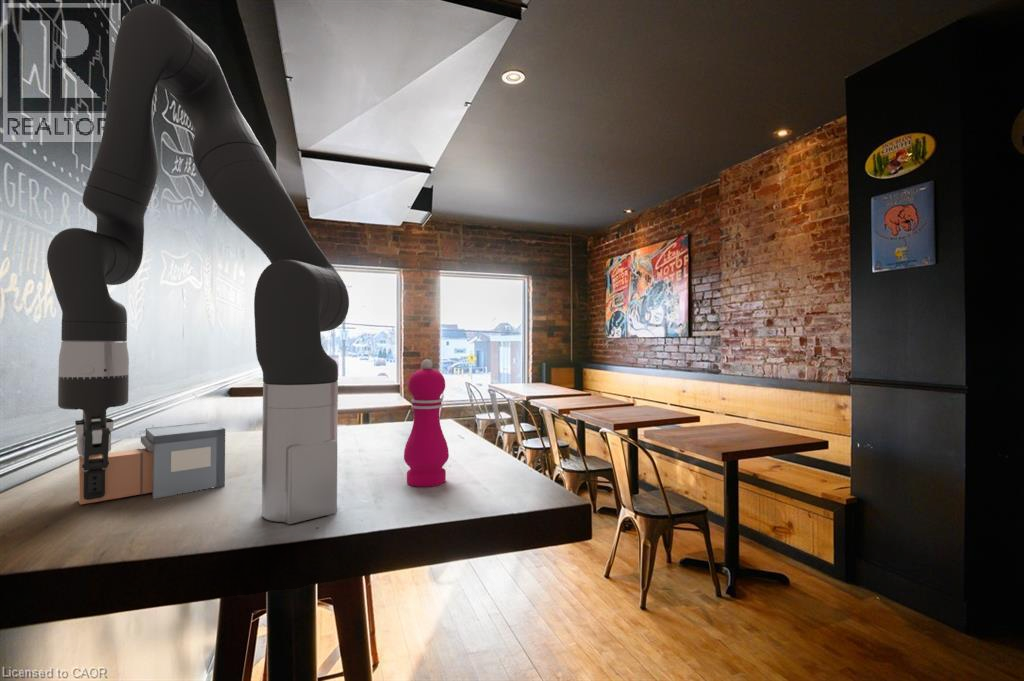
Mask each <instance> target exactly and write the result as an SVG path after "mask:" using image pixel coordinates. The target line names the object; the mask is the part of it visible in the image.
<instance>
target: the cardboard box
mask: <svg viewBox="0 0 1024 681" xmlns="http://www.w3.org/2000/svg"><path fill="white" fill-rule="evenodd" d="M100 459H102V455H101V454H97V455H91V456H89V461H92V460H100ZM108 461H109V465H108V467H107V468H106V470H105V495H104V496H103V497H101V498H96V499H90V500H86V499H84V473H83V470H82V464H83V457H82V456H80V455H79V457H78V503H79V504H78V505H84V504H85V505H87V504H90V503H97V502H103V501H110V500H115V499H121V498H126V497H132V496H137V495H141V496H142V495H143V494H144V495H145V494H149V493H151V494H152V493H153V451H151V452H149V451H148V450H147V449H146V447H144V448H137V449H129V450H121V451H120V450H119V451H112V452H111V451H110V452H108Z"/></svg>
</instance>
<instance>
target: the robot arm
mask: <svg viewBox="0 0 1024 681" xmlns="http://www.w3.org/2000/svg"><path fill="white" fill-rule="evenodd" d="M113 52H114V53H113V59H112V66H111V74H110V80H109V87H108V96H107V103H106V104H107V105H106V112H105V119H104V120H105V121H104V126H103V132H102V134H101V135H102V136H101V140H100V144H99V146H98V151H97V154H96V157H95V160H94V162H93V165H92V168H91V171H90V173H89V176H88V179H87V182H86V186H85V188H84V191H83V194H82V204H83V206H84V207H85V208H86V209H88V210H89V211H90V212H92V213H93V214H94V215H95V218H96V231H94V230H90V229H86V228H81V227H70V228H65V229H63V230H61V231H59V232H58V233H57V234H55V235H54V237H53V238H52V240H51V242H50V243H49V244H48V248H47V255H46V264H47V269H48V272H49V275H50V279H51V282H52V285H53V286H52V287H53V289H54V293H55V296H56V298H57V301H58V304H59V307H60V310H61V332H60V333H61V335H60V336H61V338H60V339H61V345H60V350H59V354H58V374H57V377H58V379H57V380H58V383H57V384H58V385H57V388H58V389H57V405H58V407H59V409H63V410H72V411H73V410H82V419H79V420H78V419H76V420H75V421H74V431H75V435H76V449H77V453H78V455H79V456H82V457H83V464H82V470H83V473H84V499H86V500H90V499H96V498H101V497H103V496H104V495H105V470H106V468H107V467H108V465H109V461H108V453H110V452H111V451H112V432H113V431H114V419H113V418H112V417H107V410H108V409H109V408H117V407H121V406H125V405H126V404H128V403H129V386H130V385H129V384H130V383H129V377H130V376H129V372H130V371H129V369H130V368H129V367H130V366H129V364H130V362H129V361H130V360H129V359H130V358H129V350H128V342H127V341H128V335H127V334H128V313H127V309H126V307H125V306H124V305H123V304H122V303H121V302H119V301H117V300H115V299H113V298H112V297H111V295H110V292H109V288H108V286H118V285H123V284H125V283H127V282H129V281H130V280H131V279H132V278H133V277H135V275H136V274H137V272H138V270H139V269H140V266H141V264H142V260H143V255H144V241H145V240H144V237H145V214H146V212H147V209H148V207H149V203H150V202H151V201H150V200H152V199H151V198H152V196H153V192H154V190H155V187H156V184H157V179H158V176H159V175H158V174H159V155H158V149H157V142H156V136H155V127H154V122H153V106H154V105H153V103H154V96H155V93H156V89H157V86H158V85H159V86H160V87H161V88H163V89H164V90H166V91H167V92H168V93H169V94H171V95H172V97H174V99H175V100H176V101H177V102H178V103H179V105H180V106H181V108H182V109H183V111H184V112H185V114H186V116H187V117H188V119H189V120H190V122H191V124H192V126H193V129H194V137H193V142H192V157H193V162H194V165H195V167H196V170H197V172H198V173H199V175H200V177H201V179H202V181H203V183H204V184H205V185H204V186H205V187H206V188H207V190H208V192H209V194H210V196H211V198H212V199H213V201H214V202H215V203H216V205H217V207H218V208H219V209H220V210H221V211H222V213H223V214H225V216H226V217H227V218H228V219H229V220H230V221H231V222H232V223H233V224H234V225H235V226H236V227H237V228H238V229H239V230H240V231H241V232H242V233H243V234H244V235H245V236H247V237H248V239H249V240H251V241H252V242H253V243H254V244H255V246H257V247H258V248H259V249H260V251H261V252H262V253H263V254H264V255H265V257H266V258H267V259H268V261H269V262H270V264H269V265H267V266H266V267H265V268H264V270H262V272H261V274H260V276H259V277H258V279H257V283H256V284H255V285H256V286H255V290H254V298H253V299H254V301H253V302H254V303H253V310H254V311H253V312H254V315H253V317H254V331H255V332H254V333H255V334H254V335H255V338H254V339H255V353H256V359H257V362H258V363H259V364H258V365H259V366H260V368H261V371H262V382H263V383H262V438H261V440H262V444H261V445H262V447H261V448H262V450H261V451H262V452H261V454H262V457H261V460H262V461H261V462H262V464H261V516H262V518H263V519H265V520H268V521H271V522H279V523H281V522H282V523H286V524H287V525H293V524H297V523H301V522H304V521H307V520H309V521H310V520H312V519H316V518H320V517H324V516H329V515H332V514H337V512H338V417H339V416H338V406H339V405H338V404H339V403H338V401H339V399H338V397H339V396H338V395H339V394H338V393H339V391H338V390H339V382H338V380H339V367H338V362H337V361H336V360H335V359H334V358H332V357H331V356H330V355H329V354H328V353H326V351H325V349H324V347H323V345H322V344H323V343H322V334H321V333H322V332H329V331H332V330H334V329H336V328H338V327H339V326H341V325H342V324H343V322H344V321H345V320H346V317H347V315H348V312H349V308H350V299H349V298H350V297H349V292H348V289H347V287H346V284H345V282H344V280H343V278H342V277H341V275H340V274H339V272H338V271H337V269H336V268H335V267H334V266H333V265H332V263H331V261H330V260H329V259H328V258H327V256H326V255H325V253H324V252H323V251H322V249H321V248H320V247H319V245H318V244H317V242H316V240H315V239H314V237H313V236H312V235H311V233H310V231H309V229H308V228H307V226H306V224H305V223H304V220H303V219H302V217H301V215H300V213H299V211H298V210H297V208H296V205H295V204H294V202H293V200H292V198H291V197H290V195H289V193H288V192H287V190H286V188H285V186H284V184H283V182H282V181H281V180H282V179H280V177H279V174H278V172H277V171H276V169H275V167H274V165H273V163H272V162H271V159H270V158H269V156H268V155H267V153H266V151H265V150H264V148H263V146H262V145H261V143H260V142H259V140H258V139H257V137H256V135H255V133H254V131H253V130H252V128H251V126H250V125H249V123H248V121H247V120H246V118H245V117H244V115H243V114H242V112H241V110H240V109H239V107H238V105H237V103H236V101H235V99H234V96H233V95H232V92H231V90H230V87H229V84H228V81H227V79H226V77H225V74H224V72H223V70H222V68H221V65H220V63H219V61H218V59H217V57H216V54H214V51H212V49H211V48H210V46H209V45H208V44H207V43H206V42H204V40H203V39H201V38H200V36H198V35H197V34H196V33H195V32H194V31H192V30H191V28H189V27H188V26H187V25H186V24H185V23H184V22H183V21H182V20H181V19H180V18H178V17H177V16H176V15H175V14H174V13H173V12H172V11H170V10H169V9H168V8H166V7H165V6H163V5H161V4H158V3H154V2H146V3H145V2H144V3H141V4H139V5H138V4H137V5H135V6H134V7H133V8H131V9H130V10H129V11H128V12H127V13H126V14H125V16H124V17H123V19H122V21H121V23H120V26H119V28H118V32H117V35H116V40H115V45H114V51H113ZM97 454H101V455H102V459H100V460H92V461H89V456H91V455H97Z"/></svg>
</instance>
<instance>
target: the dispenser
mask: <svg viewBox="0 0 1024 681" xmlns="http://www.w3.org/2000/svg"><path fill="white" fill-rule="evenodd" d="M140 443H141V444H142V445H143V446H144V448H146V449H147V450H148V451H149V452H151V451H153V492H152V498H153V499H161V498H165V497H171V496H177V494H178V495H183V494H189V493H193V491H195V492H199V491H198V490H200V491H203V490H202V489H206V490H208V489H207V488H212V487H217V488H220V487H219V486H223V487H225V486H226V482H225V481H226V428H224V427H222V426H221V425H218V424H216V423H214V422H212V421H210V422H209V421H208V422H197V423H196V422H195V423H186V424H180V425H179V424H177V425H168V426H167V425H165V426H158V427H157V426H156V427H146V428H145V435H140ZM212 489H213V488H212ZM188 492H189V493H188ZM182 493H183V494H182Z"/></svg>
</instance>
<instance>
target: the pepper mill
mask: <svg viewBox="0 0 1024 681" xmlns="http://www.w3.org/2000/svg"><path fill="white" fill-rule="evenodd" d="M432 367H433V362H432V360H431V359H427V358H425V359H424V360H422V362H421V368H420V369H418V370H416V371H414V372H413V373H412V374H411V375H410V377H409V379H408V384H407V386H408V387H407V388H408V391H409V394H411V396H412V397H413V398H411V400H410V401H411V406H410V407H411V408H412V409H413V422H412V423H413V424H412V428H411V431H410V434H409V437H408V438H407V441H406V443H405V447H404V452H403V461H404V462H405V464H406V465H407V466H408V467H409V469H408V470H407V471H406V483H407V484H408V485H410V486H411V487H417V488H428V487H429V488H431V487H437V486H439V485H443V484H444V483H445V482H446V481H447V478H446V472H447V471H446V469H445V468H444V465H445V464H446V463H447V462H448V460H449V456H450V454H449V447H448V442H447V440H446V438H445V435H444V433H443V430H442V429H443V428H442V427H441V420H440V412H441V411H440V409H441V408H442V407H443V404H442V402H443V398H442V397H441V396H442V395H443V393H444V391H445V390H446V380H445V377H444V376H443V374H442V373H441V372H440V371H438V370H436V369H434V368H432Z"/></svg>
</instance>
